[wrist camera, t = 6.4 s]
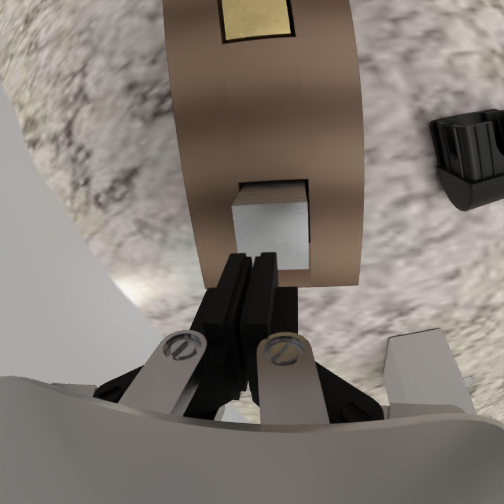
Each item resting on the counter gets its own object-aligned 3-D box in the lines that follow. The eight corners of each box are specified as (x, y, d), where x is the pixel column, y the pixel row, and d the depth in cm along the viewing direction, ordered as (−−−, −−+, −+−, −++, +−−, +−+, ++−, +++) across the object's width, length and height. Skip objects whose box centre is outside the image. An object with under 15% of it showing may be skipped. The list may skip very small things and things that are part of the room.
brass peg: (235, 13, 18) (220, -10, 13) (285, 8, 17) (282, -17, 12) (240, 54, 20) (226, 40, 15) (290, 49, 19) (290, 33, 14)
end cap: (438, 196, 23) (474, 223, 17) (423, 122, 20) (462, 129, 14) (509, 175, 20) (549, 196, 14) (499, 108, 18) (543, 115, 12)
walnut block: (187, -12, 17) (160, -37, 12) (326, -27, 15) (334, -58, 10) (221, 253, 29) (205, 288, 23) (346, 249, 27) (358, 285, 22)
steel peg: (246, 181, 20) (231, 205, 16) (303, 178, 20) (307, 202, 15) (252, 232, 22) (240, 270, 17) (305, 230, 22) (308, 268, 17)
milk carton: (429, 364, 33) (463, 484, 16) (382, 373, 34) (403, 502, 18) (440, 327, 30) (491, 460, 13) (388, 336, 31) (422, 485, 14)
